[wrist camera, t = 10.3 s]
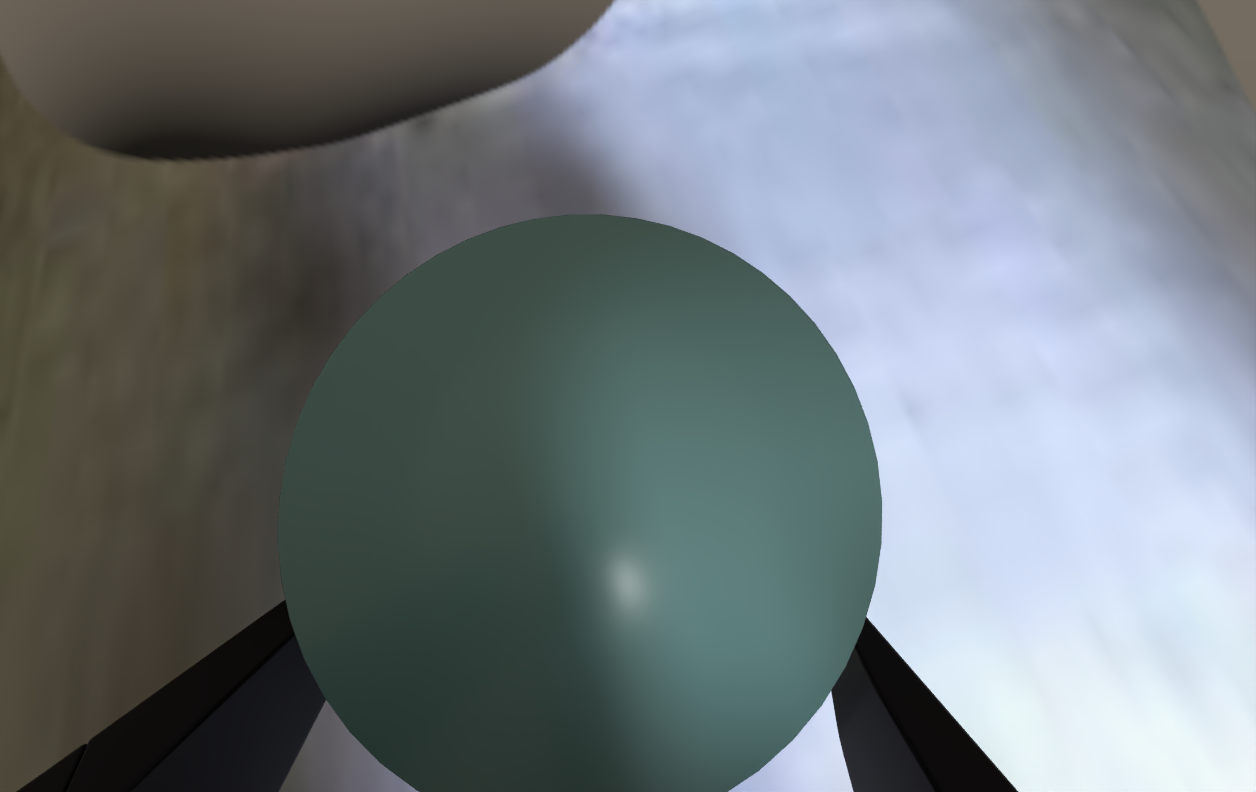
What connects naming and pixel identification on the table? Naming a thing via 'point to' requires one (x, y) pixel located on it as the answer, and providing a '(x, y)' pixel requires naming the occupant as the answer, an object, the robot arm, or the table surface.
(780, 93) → the table surface
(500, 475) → the white canister
